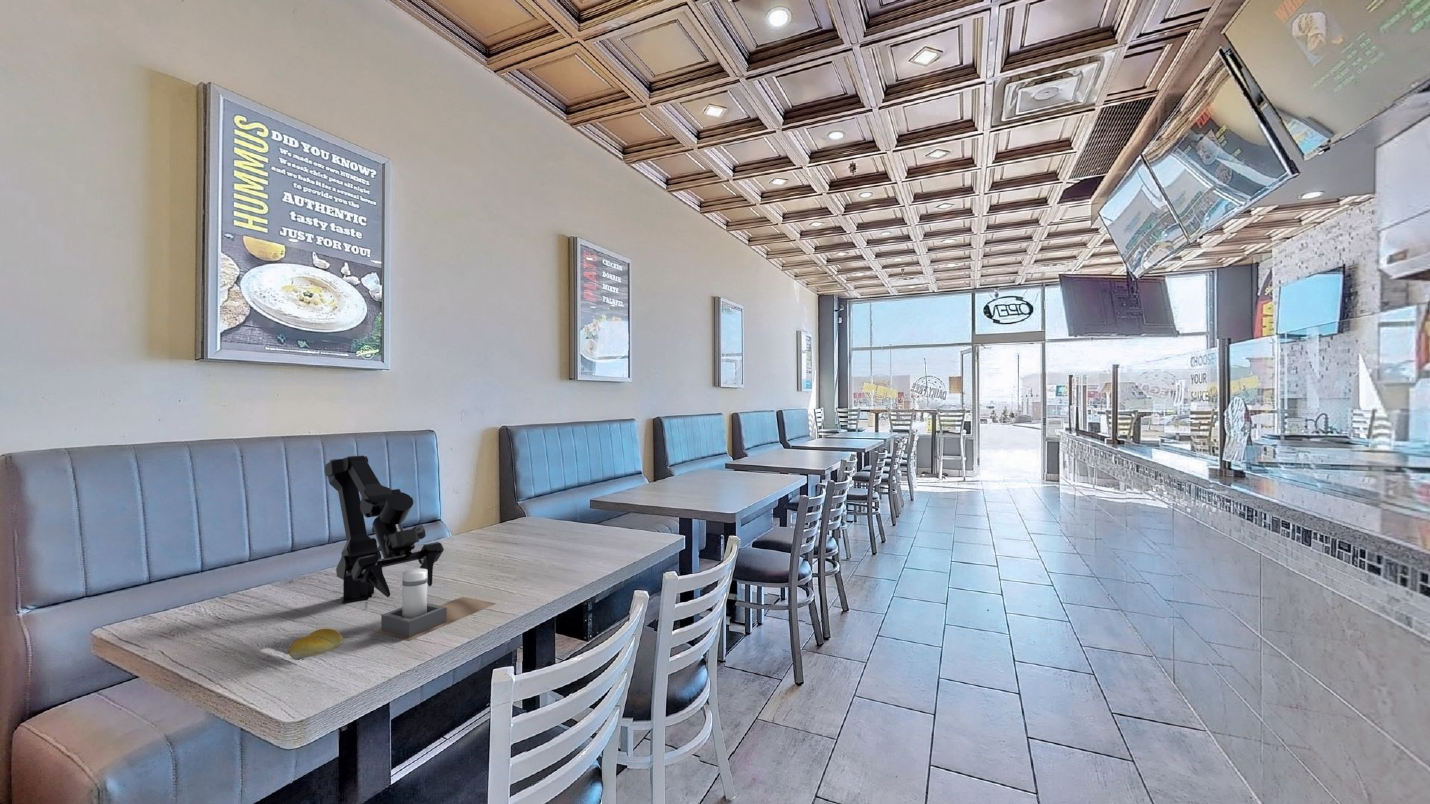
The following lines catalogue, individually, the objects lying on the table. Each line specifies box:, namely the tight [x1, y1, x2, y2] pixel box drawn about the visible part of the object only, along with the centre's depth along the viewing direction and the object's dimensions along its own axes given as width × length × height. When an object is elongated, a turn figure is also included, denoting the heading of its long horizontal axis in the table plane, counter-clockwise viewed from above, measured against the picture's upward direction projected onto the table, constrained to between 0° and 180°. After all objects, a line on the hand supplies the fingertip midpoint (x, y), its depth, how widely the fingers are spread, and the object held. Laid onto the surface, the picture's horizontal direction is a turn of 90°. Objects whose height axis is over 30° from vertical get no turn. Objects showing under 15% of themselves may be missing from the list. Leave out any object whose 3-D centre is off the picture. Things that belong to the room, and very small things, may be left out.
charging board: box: [373, 596, 497, 642], centre depth 129 cm, size 24×12×1 cm, turn 156°
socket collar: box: [380, 602, 447, 638], centre depth 123 cm, size 9×9×4 cm
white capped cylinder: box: [401, 568, 428, 619], centre depth 123 cm, size 5×5×12 cm
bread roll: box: [288, 628, 344, 661], centre depth 112 cm, size 8×9×4 cm
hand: (410, 590), depth 124 cm, fingers open, 9 cm apart
